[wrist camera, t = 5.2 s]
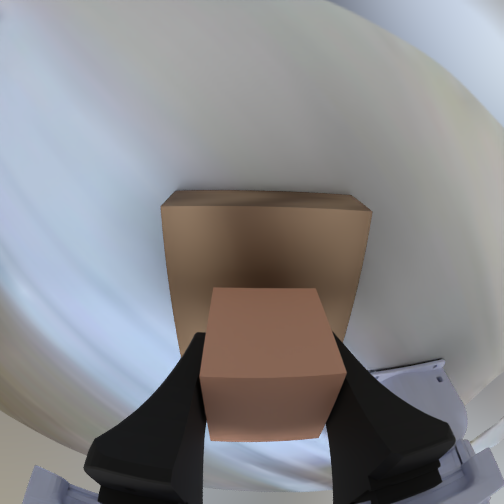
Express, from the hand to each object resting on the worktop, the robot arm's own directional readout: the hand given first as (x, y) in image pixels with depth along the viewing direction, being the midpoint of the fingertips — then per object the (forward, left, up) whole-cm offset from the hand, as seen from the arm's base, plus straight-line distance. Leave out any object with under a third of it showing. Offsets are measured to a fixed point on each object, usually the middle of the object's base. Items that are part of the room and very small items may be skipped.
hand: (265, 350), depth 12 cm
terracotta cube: (0, 0, -2) cm, 2 cm away
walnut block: (0, 0, -7) cm, 7 cm away
